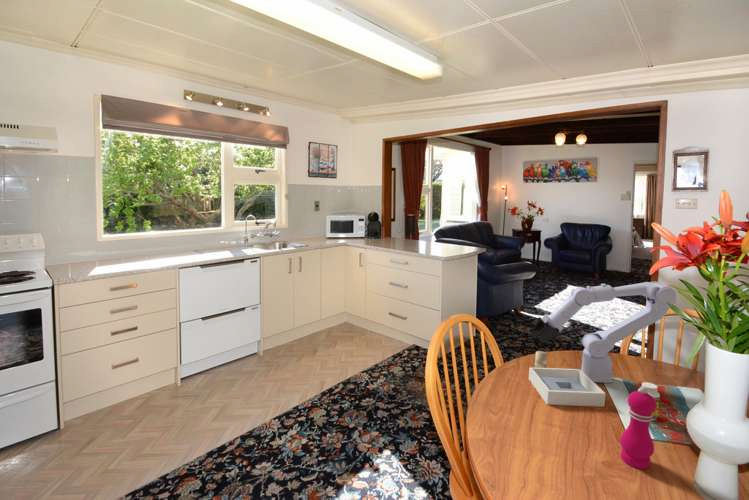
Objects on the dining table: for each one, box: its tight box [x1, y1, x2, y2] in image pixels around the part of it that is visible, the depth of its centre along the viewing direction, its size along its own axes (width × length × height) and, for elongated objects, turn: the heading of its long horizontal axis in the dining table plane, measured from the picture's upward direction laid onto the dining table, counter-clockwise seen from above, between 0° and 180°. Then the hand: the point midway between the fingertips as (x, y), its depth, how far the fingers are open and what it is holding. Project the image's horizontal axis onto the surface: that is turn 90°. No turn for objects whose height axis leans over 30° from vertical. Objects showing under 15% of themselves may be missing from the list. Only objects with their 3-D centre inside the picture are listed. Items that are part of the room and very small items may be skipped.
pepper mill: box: [619, 386, 656, 470], centre depth 102 cm, size 7×7×20 cm
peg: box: [534, 350, 548, 368], centre depth 156 cm, size 4×4×7 cm
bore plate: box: [541, 377, 589, 392], centre depth 138 cm, size 12×12×2 cm
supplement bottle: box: [637, 381, 661, 422], centre depth 124 cm, size 6×6×10 cm
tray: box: [528, 367, 607, 407], centre depth 139 cm, size 18×18×4 cm
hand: (536, 338), depth 153 cm, fingers open, 7 cm apart
